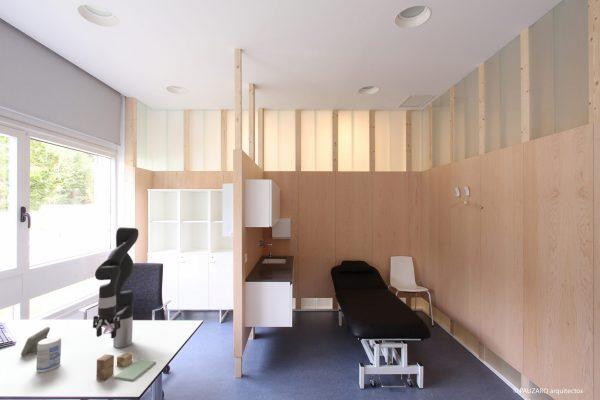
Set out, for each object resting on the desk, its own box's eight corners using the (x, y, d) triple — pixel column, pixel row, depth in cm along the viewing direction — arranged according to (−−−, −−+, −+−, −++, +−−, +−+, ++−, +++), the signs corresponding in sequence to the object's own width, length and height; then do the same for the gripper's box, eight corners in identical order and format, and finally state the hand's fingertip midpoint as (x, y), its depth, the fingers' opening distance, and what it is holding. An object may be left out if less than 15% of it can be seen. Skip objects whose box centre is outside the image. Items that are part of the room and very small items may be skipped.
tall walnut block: (96, 379, 135) (96, 359, 135) (105, 373, 140) (105, 354, 140) (104, 381, 134) (105, 360, 134) (113, 374, 139) (113, 355, 139)
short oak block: (116, 366, 147) (116, 356, 147) (124, 361, 152) (124, 352, 152) (124, 367, 146) (124, 357, 146) (131, 362, 151) (132, 353, 151)
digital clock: (41, 343, 171) (42, 326, 171) (55, 343, 171) (56, 326, 171) (14, 357, 155) (15, 338, 155) (30, 357, 155) (30, 338, 155)
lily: (98, 332, 188) (95, 323, 183) (115, 320, 197) (112, 311, 193) (110, 340, 184) (107, 331, 180) (126, 327, 194) (124, 318, 190)
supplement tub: (52, 371, 141) (53, 343, 141) (31, 374, 139) (32, 345, 139) (64, 361, 150) (65, 335, 151) (44, 363, 148) (45, 336, 149)
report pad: (114, 378, 136) (114, 376, 136) (138, 360, 152) (138, 359, 152) (133, 381, 134) (133, 379, 134) (155, 363, 150) (155, 361, 150)
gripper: (88, 306, 136) (87, 339, 135) (112, 308, 133) (111, 341, 133) (102, 301, 143) (101, 332, 142) (125, 303, 140) (124, 334, 140)
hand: (106, 336), depth 138 cm, fingers open, 8 cm apart
